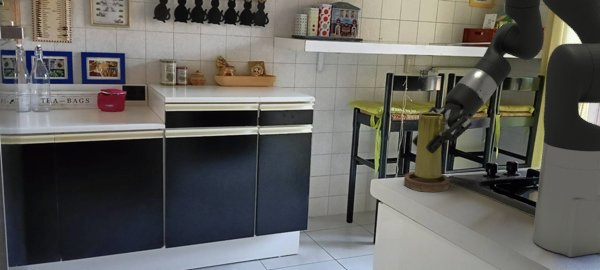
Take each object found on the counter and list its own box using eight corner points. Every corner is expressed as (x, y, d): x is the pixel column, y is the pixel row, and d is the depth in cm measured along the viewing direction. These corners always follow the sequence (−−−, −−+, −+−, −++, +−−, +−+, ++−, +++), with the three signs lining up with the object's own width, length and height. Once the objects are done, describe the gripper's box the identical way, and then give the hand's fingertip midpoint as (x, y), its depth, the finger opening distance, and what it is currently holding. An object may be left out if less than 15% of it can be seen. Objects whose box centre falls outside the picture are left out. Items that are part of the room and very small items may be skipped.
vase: (444, 174, 116) (448, 113, 113) (436, 180, 111) (440, 117, 108) (419, 170, 119) (422, 111, 116) (410, 176, 114) (413, 115, 111)
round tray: (457, 189, 112) (458, 182, 112) (418, 193, 109) (418, 186, 109) (433, 177, 121) (434, 170, 121) (396, 180, 118) (396, 173, 118)
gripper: (443, 78, 119) (396, 130, 118) (482, 85, 106) (429, 144, 105) (461, 99, 122) (415, 150, 121) (500, 108, 108) (449, 166, 107)
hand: (422, 147), depth 113 cm, fingers closed on vase, 5 cm apart
